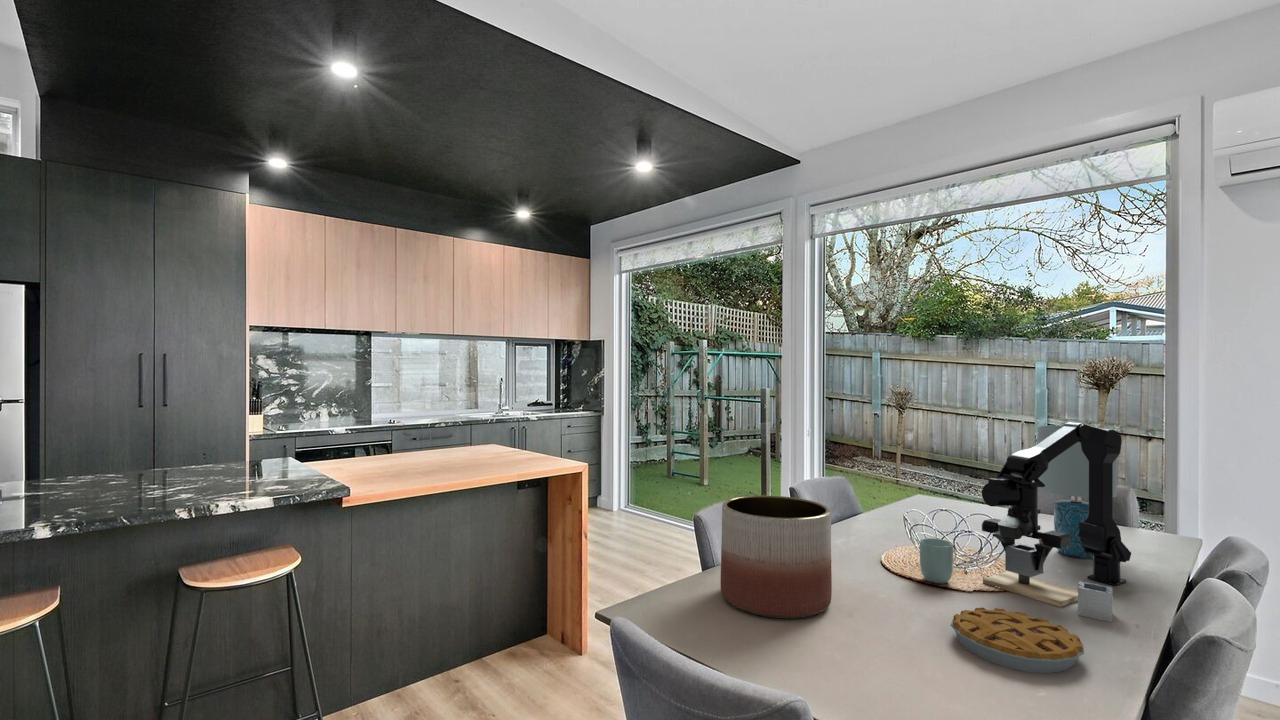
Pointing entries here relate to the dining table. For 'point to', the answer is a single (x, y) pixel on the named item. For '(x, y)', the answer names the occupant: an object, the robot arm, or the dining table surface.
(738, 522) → the planter
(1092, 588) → the grey open cube box
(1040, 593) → the board
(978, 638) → the pie
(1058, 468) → the lamp
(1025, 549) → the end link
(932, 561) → the cup
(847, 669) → the dining table surface
